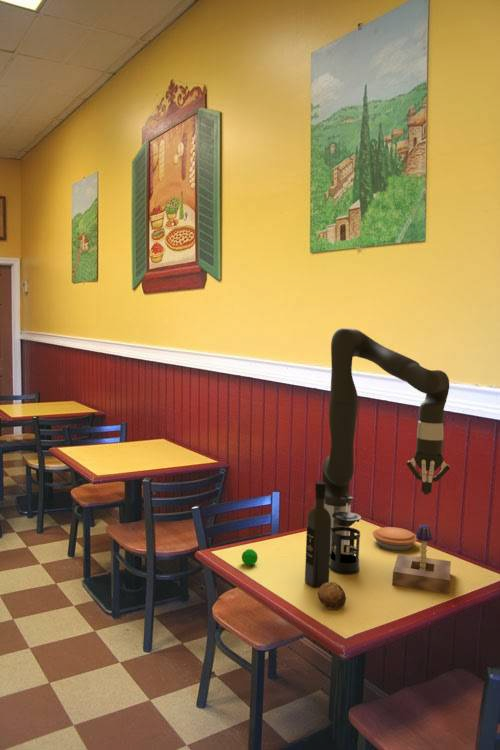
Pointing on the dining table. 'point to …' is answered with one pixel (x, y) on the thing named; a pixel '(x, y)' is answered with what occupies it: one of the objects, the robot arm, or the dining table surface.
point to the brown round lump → (331, 595)
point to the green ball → (249, 557)
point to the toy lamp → (423, 542)
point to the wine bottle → (318, 540)
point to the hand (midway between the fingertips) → (426, 494)
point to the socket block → (422, 573)
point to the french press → (345, 553)
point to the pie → (394, 538)
